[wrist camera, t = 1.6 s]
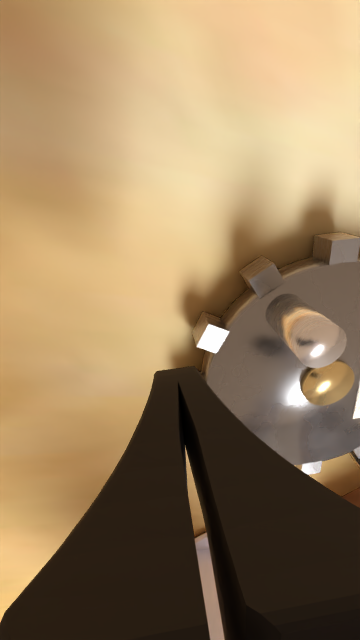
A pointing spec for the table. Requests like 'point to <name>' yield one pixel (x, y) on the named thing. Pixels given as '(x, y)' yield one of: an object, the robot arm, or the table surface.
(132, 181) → the table surface
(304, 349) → the sprocket disc
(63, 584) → the robot arm
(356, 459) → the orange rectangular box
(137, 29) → the table surface
